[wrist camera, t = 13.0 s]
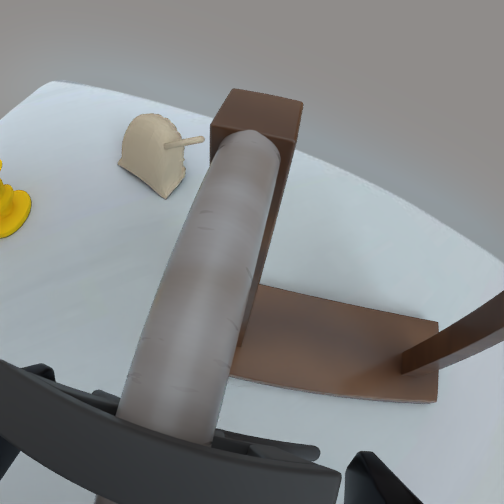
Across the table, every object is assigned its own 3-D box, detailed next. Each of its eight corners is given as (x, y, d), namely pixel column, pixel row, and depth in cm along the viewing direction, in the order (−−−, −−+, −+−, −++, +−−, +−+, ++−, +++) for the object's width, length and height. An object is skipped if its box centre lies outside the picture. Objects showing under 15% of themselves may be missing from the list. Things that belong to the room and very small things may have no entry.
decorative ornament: (150, 141, 27) (144, 95, 23) (212, 182, 25) (212, 130, 20) (117, 163, 25) (104, 116, 21) (175, 210, 23) (168, 157, 18)
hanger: (92, 404, 10) (-108, 319, 2) (98, 387, 11) (-93, 277, 2) (315, 462, 10) (520, 500, 2) (319, 444, 10) (530, 447, 2)
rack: (419, 471, 14) (623, 449, 1) (158, 440, 14) (-39, 464, 2) (431, 326, 20) (582, 201, 7) (206, 277, 20) (201, 43, 7)
